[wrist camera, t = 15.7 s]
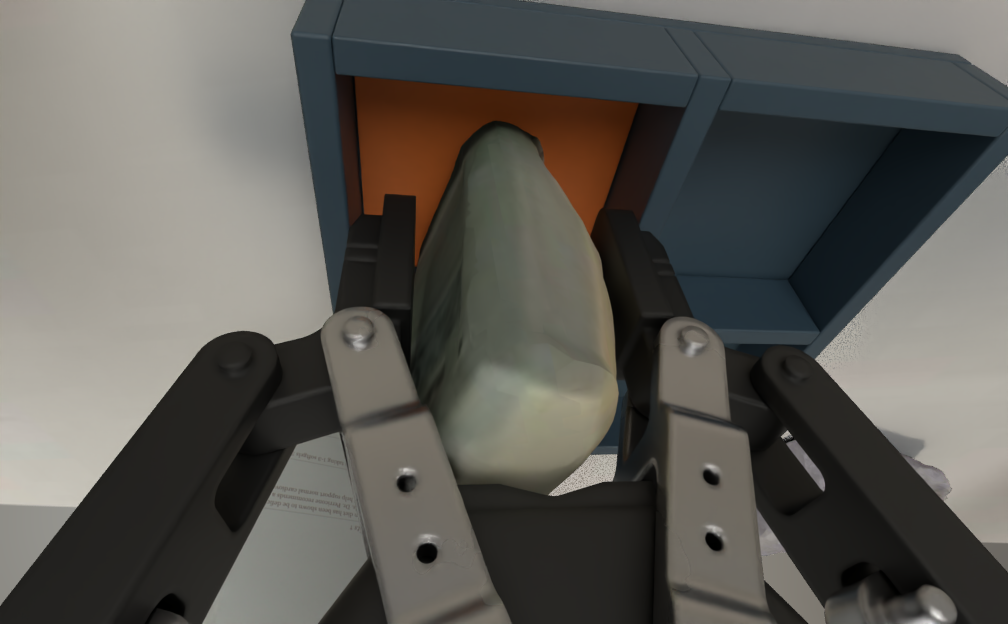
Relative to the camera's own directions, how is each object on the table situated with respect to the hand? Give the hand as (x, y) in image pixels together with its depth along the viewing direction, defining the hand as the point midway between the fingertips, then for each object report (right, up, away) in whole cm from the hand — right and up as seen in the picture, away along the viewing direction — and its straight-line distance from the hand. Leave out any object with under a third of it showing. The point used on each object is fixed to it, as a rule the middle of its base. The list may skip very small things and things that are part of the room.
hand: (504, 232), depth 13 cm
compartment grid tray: (+3, 0, +5) cm, 6 cm away
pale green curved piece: (-1, +1, +1) cm, 2 cm away
